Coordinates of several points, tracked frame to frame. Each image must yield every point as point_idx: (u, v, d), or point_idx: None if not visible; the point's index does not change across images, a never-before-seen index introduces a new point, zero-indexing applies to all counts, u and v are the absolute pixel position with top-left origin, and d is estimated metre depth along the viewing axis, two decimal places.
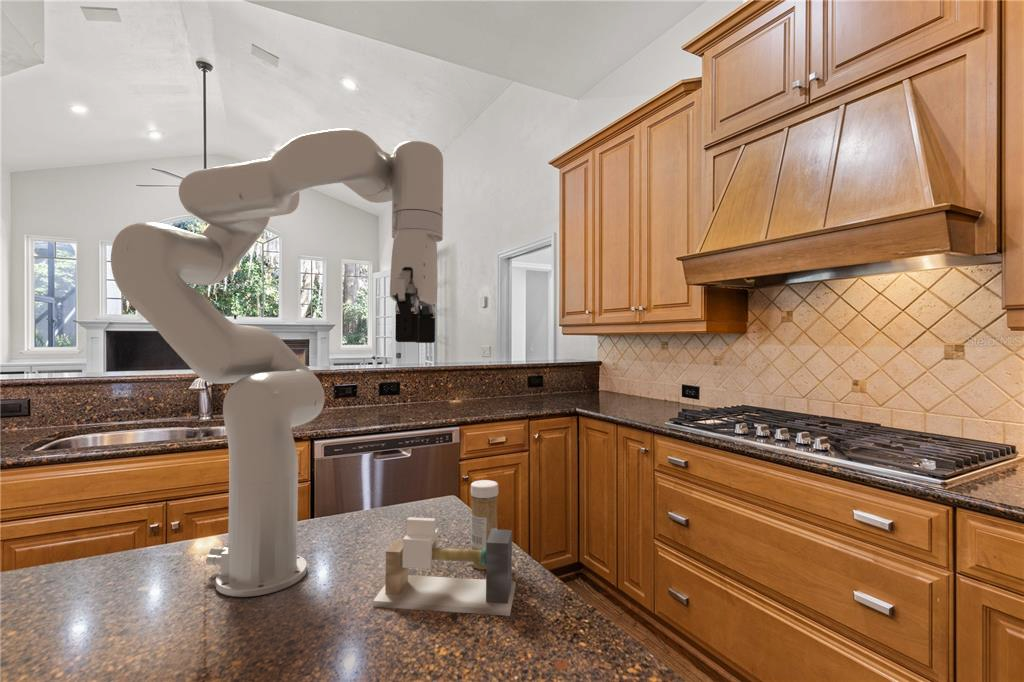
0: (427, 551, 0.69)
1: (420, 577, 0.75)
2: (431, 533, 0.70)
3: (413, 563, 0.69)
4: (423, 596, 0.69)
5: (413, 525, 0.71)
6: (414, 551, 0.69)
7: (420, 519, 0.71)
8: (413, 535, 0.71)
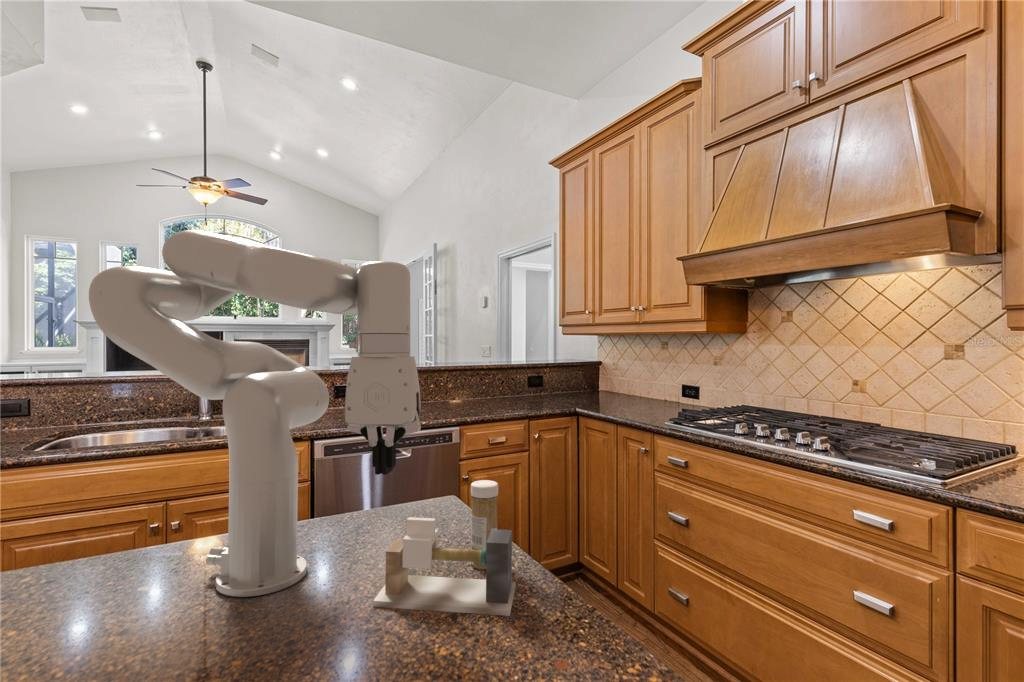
0: (427, 551, 0.69)
1: (420, 577, 0.75)
2: (431, 533, 0.70)
3: (413, 563, 0.69)
4: (423, 596, 0.69)
5: (413, 525, 0.71)
6: (414, 551, 0.69)
7: (420, 519, 0.71)
8: (413, 535, 0.71)
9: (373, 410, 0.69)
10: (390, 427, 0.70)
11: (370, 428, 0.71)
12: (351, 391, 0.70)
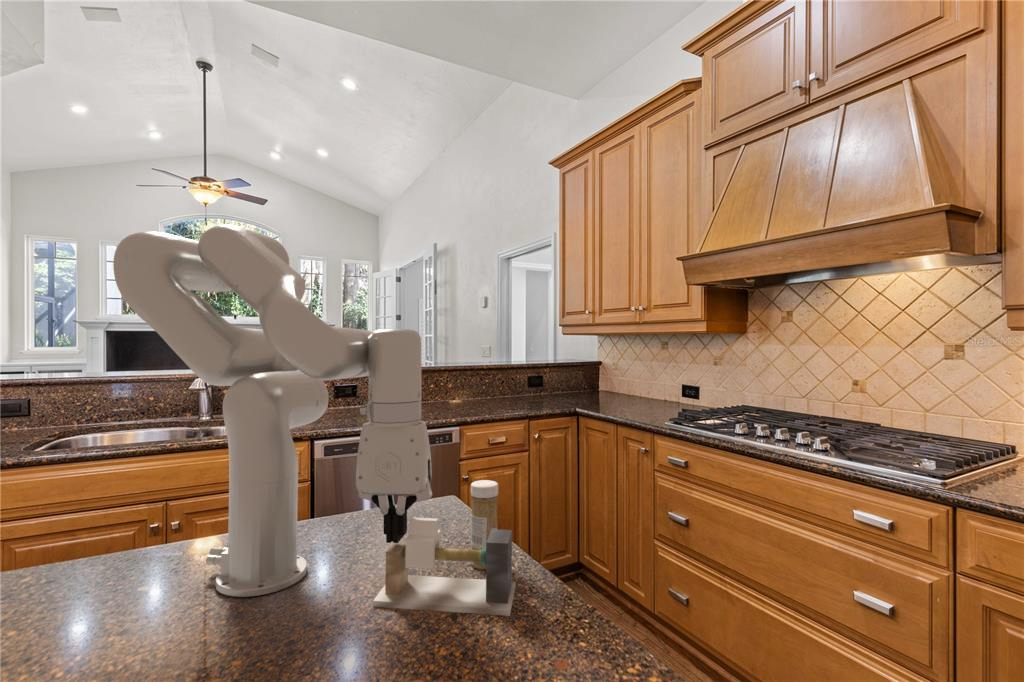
0: (430, 551, 0.69)
1: (420, 577, 0.75)
2: (434, 533, 0.70)
3: (416, 563, 0.69)
4: (423, 596, 0.69)
5: (416, 525, 0.71)
6: (417, 551, 0.69)
7: (423, 519, 0.71)
8: (416, 535, 0.71)
9: (384, 480, 0.69)
10: (401, 495, 0.70)
11: (381, 496, 0.70)
12: (362, 460, 0.69)
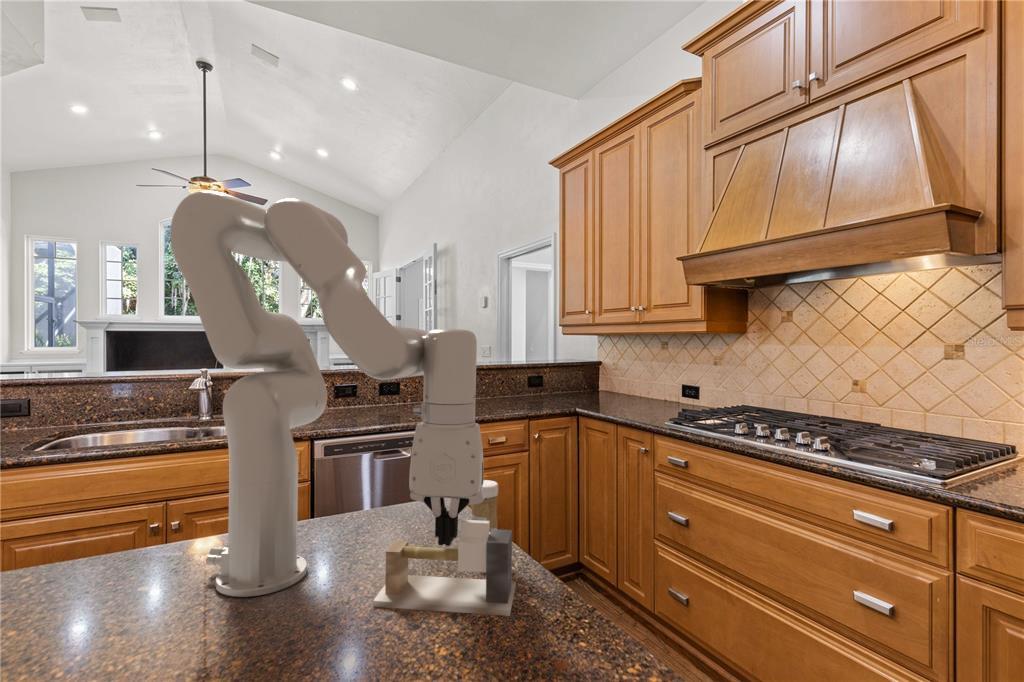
0: (483, 554, 0.68)
1: (420, 577, 0.75)
2: (486, 536, 0.70)
3: (469, 566, 0.68)
4: (423, 596, 0.69)
5: (468, 528, 0.70)
6: (470, 554, 0.68)
7: (474, 522, 0.70)
8: (468, 538, 0.70)
9: (438, 482, 0.68)
10: (455, 498, 0.69)
11: (434, 498, 0.70)
12: (416, 461, 0.69)
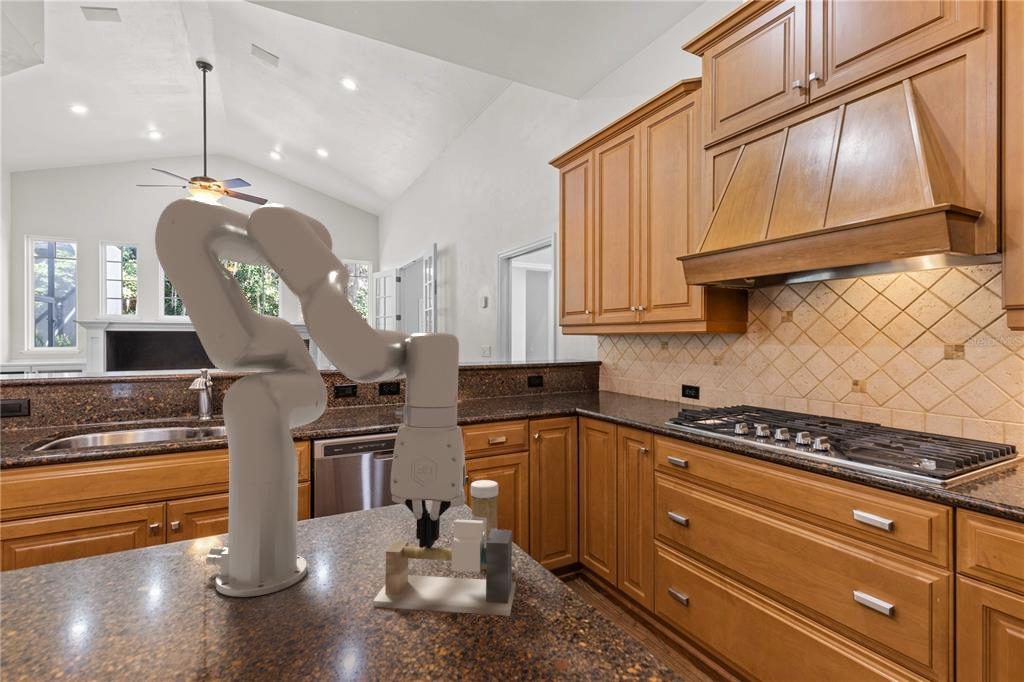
0: (477, 554, 0.68)
1: (420, 577, 0.75)
2: (479, 535, 0.70)
3: (462, 566, 0.68)
4: (423, 596, 0.69)
5: (461, 528, 0.70)
6: (463, 554, 0.68)
7: (468, 522, 0.70)
8: (461, 537, 0.70)
9: (419, 484, 0.68)
10: (436, 500, 0.70)
11: (415, 500, 0.70)
12: (398, 464, 0.69)
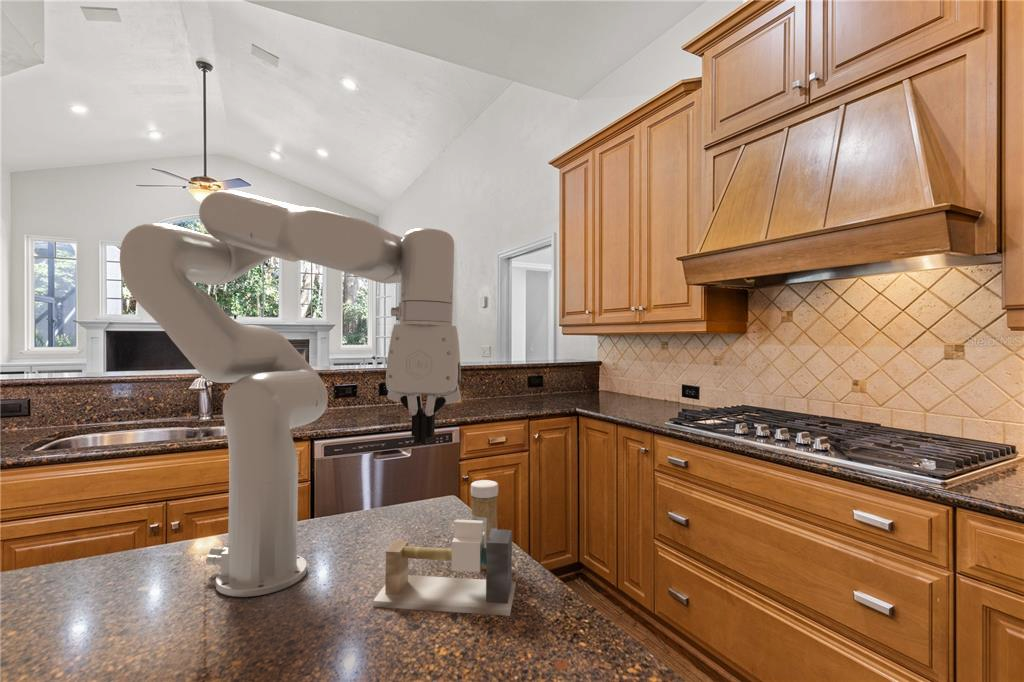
0: (477, 554, 0.68)
1: (420, 577, 0.75)
2: (479, 535, 0.70)
3: (462, 566, 0.68)
4: (423, 596, 0.69)
5: (461, 528, 0.70)
6: (463, 554, 0.68)
7: (468, 522, 0.70)
8: (461, 537, 0.70)
9: (415, 378, 0.69)
10: (431, 396, 0.70)
11: (410, 397, 0.70)
12: (393, 358, 0.69)
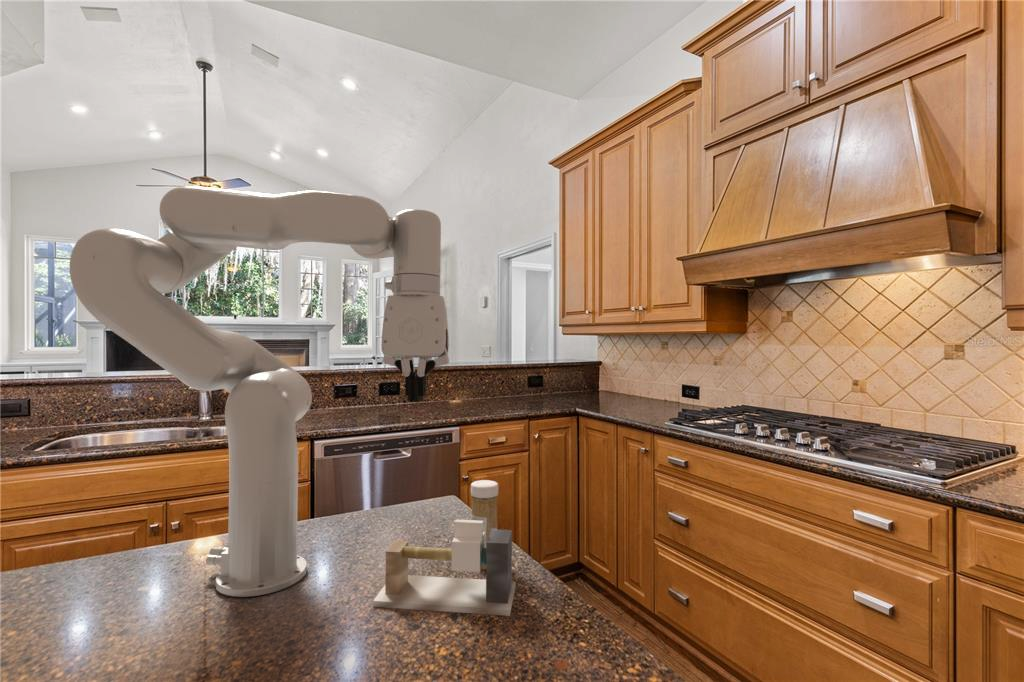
0: (477, 554, 0.68)
1: (420, 577, 0.75)
2: (479, 535, 0.70)
3: (462, 566, 0.68)
4: (423, 596, 0.69)
5: (461, 528, 0.70)
6: (463, 554, 0.68)
7: (468, 522, 0.70)
8: (461, 537, 0.70)
9: (407, 343, 0.77)
10: (422, 359, 0.78)
11: (404, 360, 0.79)
12: (387, 326, 0.78)
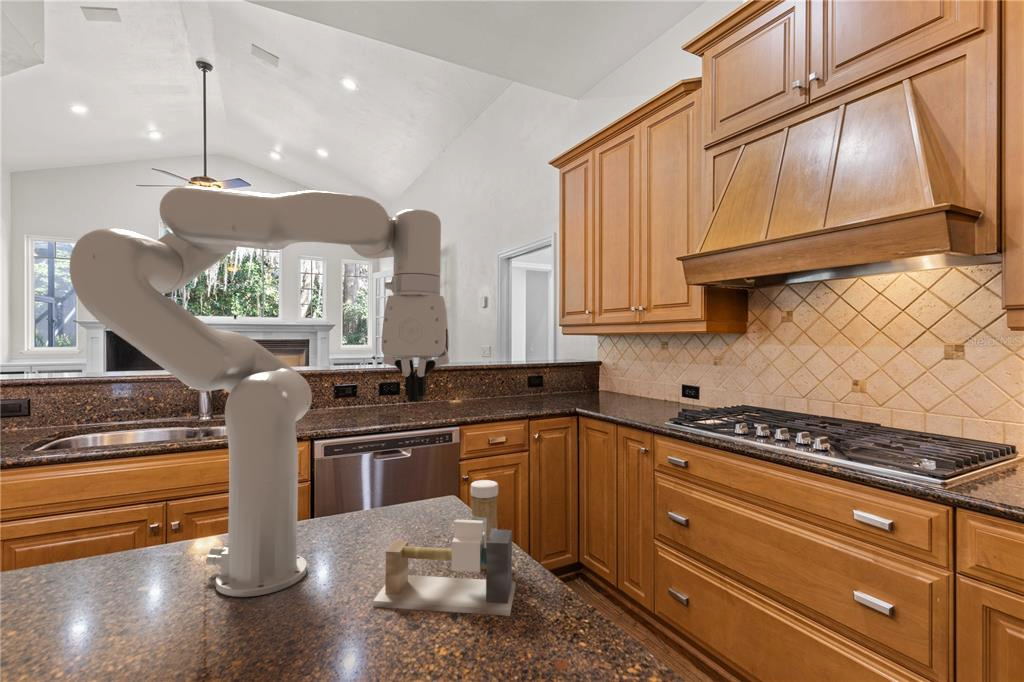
0: (477, 554, 0.68)
1: (420, 577, 0.75)
2: (479, 535, 0.70)
3: (462, 566, 0.68)
4: (423, 596, 0.69)
5: (461, 528, 0.70)
6: (463, 554, 0.68)
7: (468, 522, 0.70)
8: (461, 537, 0.70)
9: (407, 343, 0.77)
10: (422, 359, 0.78)
11: (404, 360, 0.79)
12: (387, 326, 0.78)
